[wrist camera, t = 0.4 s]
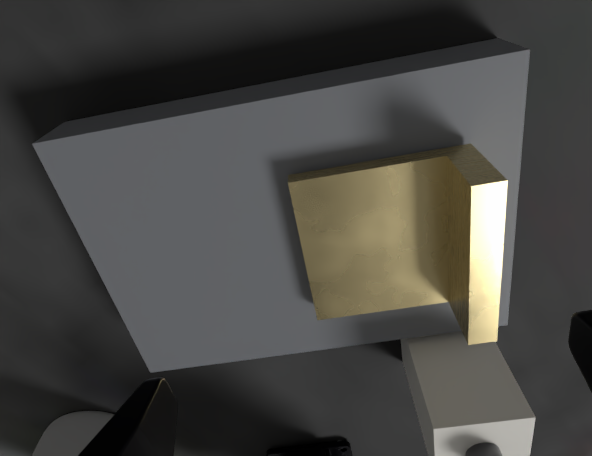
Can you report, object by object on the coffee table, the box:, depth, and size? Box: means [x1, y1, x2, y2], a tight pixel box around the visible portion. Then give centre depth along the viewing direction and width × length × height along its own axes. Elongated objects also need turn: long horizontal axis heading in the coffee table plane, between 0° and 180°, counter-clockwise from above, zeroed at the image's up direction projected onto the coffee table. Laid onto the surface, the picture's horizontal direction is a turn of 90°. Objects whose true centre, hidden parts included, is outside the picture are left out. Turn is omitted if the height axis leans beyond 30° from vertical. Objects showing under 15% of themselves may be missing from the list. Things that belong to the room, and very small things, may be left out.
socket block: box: [32, 38, 530, 373], centre depth 22 cm, size 14×20×3 cm
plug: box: [401, 331, 536, 456], centre depth 24 cm, size 4×4×10 cm
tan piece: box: [288, 144, 508, 345], centre depth 19 cm, size 8×8×4 cm
